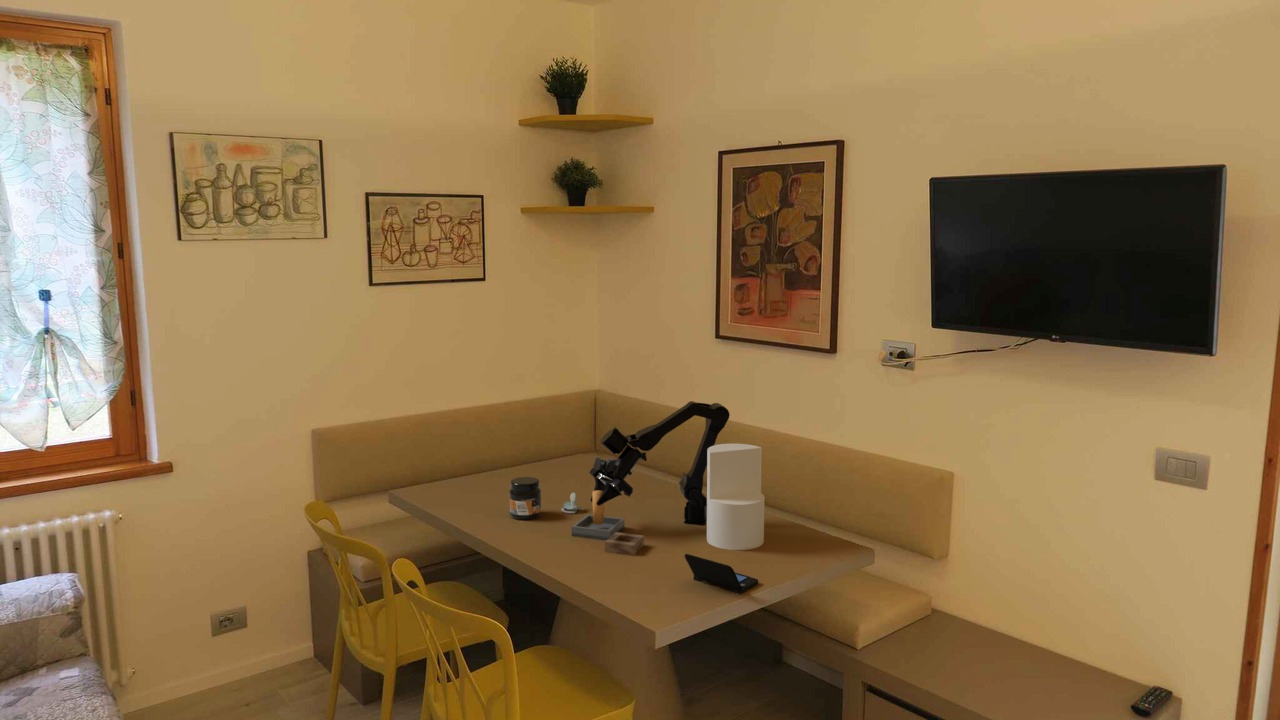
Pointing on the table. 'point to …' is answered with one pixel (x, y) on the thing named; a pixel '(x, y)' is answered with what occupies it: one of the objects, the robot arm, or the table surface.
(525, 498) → the supplement container
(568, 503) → the pacifier
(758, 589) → the table surface
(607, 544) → the socket block
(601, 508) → the pin
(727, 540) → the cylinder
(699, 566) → the game console
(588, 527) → the tray
